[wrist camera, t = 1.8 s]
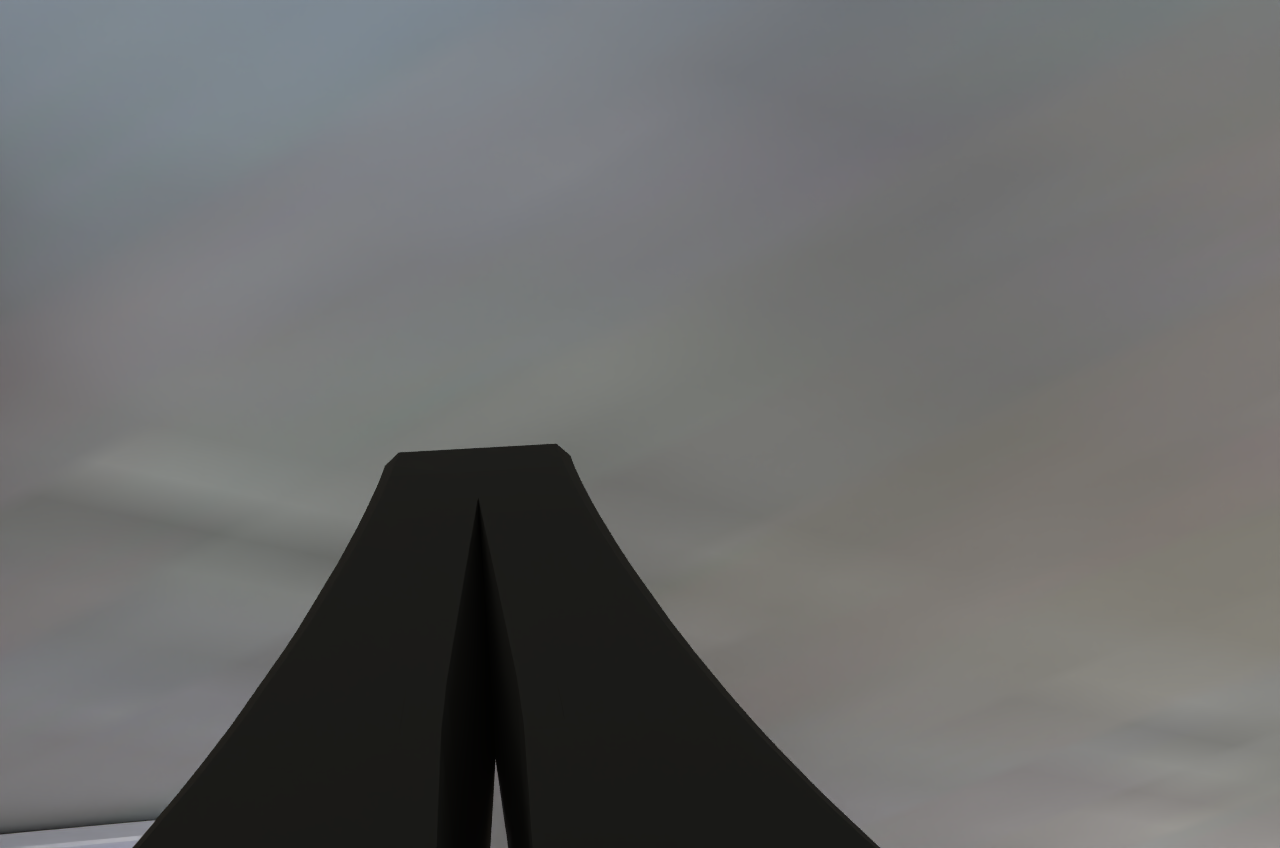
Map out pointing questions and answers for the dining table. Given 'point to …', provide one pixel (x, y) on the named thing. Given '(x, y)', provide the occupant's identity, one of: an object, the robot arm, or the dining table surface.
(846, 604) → the dining table surface
